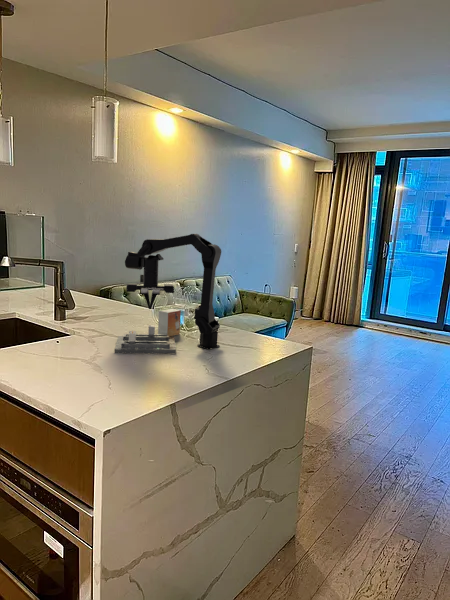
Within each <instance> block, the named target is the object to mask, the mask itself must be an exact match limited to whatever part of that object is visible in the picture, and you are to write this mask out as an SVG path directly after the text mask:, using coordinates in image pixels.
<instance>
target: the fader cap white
mask: <svg viewBox="0 0 450 600" xmlns="http://www.w3.org/2000/svg"><path fill="white" fill-rule="evenodd" d="M128 334H129V341H130V343H135V341H136V334H137V331H136V330H129V331H128Z"/></svg>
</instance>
